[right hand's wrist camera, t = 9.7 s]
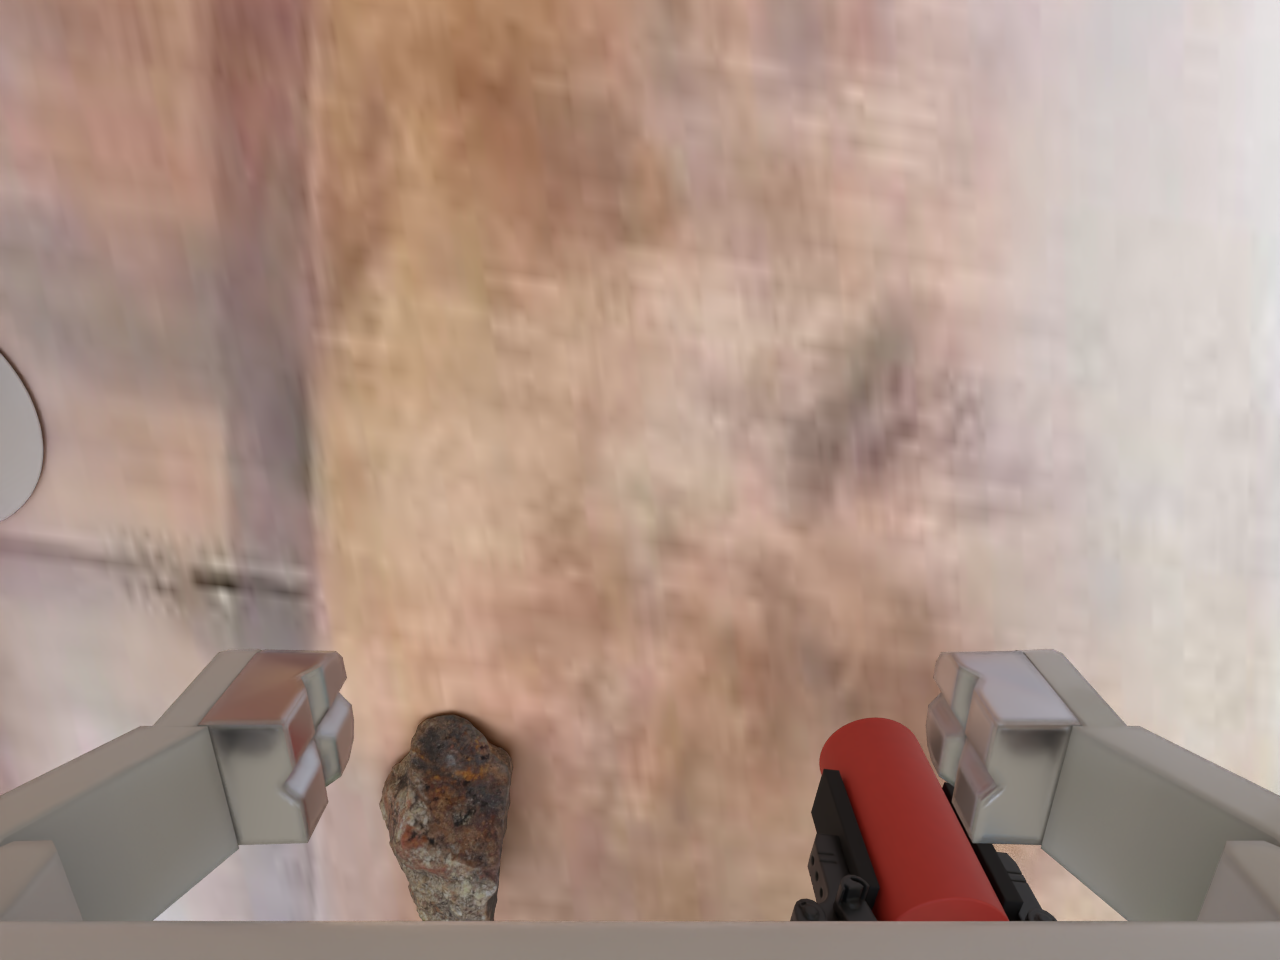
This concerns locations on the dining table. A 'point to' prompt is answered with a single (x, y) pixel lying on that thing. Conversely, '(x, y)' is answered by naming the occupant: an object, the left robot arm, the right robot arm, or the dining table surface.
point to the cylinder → (908, 827)
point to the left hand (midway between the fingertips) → (885, 798)
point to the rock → (449, 819)
